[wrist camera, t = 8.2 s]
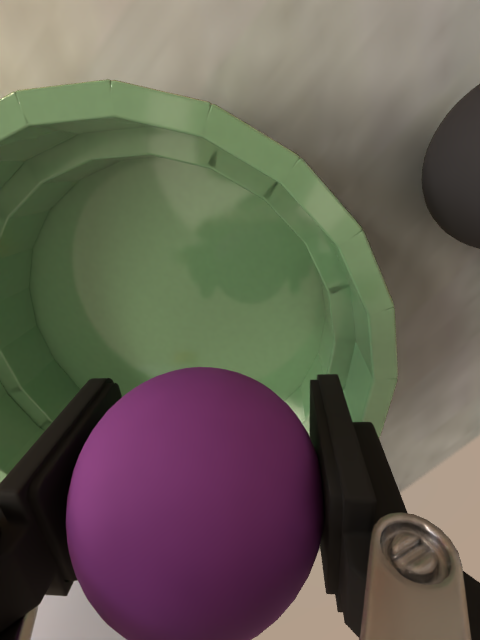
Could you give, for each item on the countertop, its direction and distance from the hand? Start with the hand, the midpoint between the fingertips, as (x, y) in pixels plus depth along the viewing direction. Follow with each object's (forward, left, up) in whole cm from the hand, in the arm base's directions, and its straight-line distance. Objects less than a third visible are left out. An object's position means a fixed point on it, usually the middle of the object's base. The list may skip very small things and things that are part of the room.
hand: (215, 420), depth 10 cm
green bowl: (0, -3, -8) cm, 9 cm away
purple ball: (0, 0, 0) cm, 0 cm away
